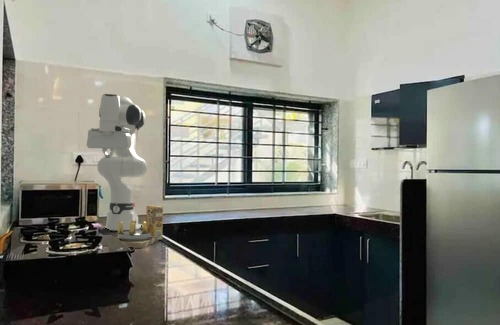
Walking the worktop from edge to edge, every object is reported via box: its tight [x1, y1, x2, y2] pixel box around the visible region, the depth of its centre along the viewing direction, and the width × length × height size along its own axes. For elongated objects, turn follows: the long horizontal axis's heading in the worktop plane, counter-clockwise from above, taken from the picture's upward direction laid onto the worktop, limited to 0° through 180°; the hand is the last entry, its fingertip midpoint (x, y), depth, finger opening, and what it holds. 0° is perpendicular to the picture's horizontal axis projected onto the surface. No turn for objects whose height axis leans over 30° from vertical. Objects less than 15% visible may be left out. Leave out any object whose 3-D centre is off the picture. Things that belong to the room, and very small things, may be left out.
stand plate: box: [122, 236, 159, 249], centre depth 169 cm, size 18×17×2 cm
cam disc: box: [117, 220, 151, 241], centre depth 169 cm, size 14×14×7 cm
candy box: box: [145, 205, 164, 241], centre depth 183 cm, size 9×4×15 cm, turn 44°
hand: (108, 158), depth 178 cm, fingers closed
